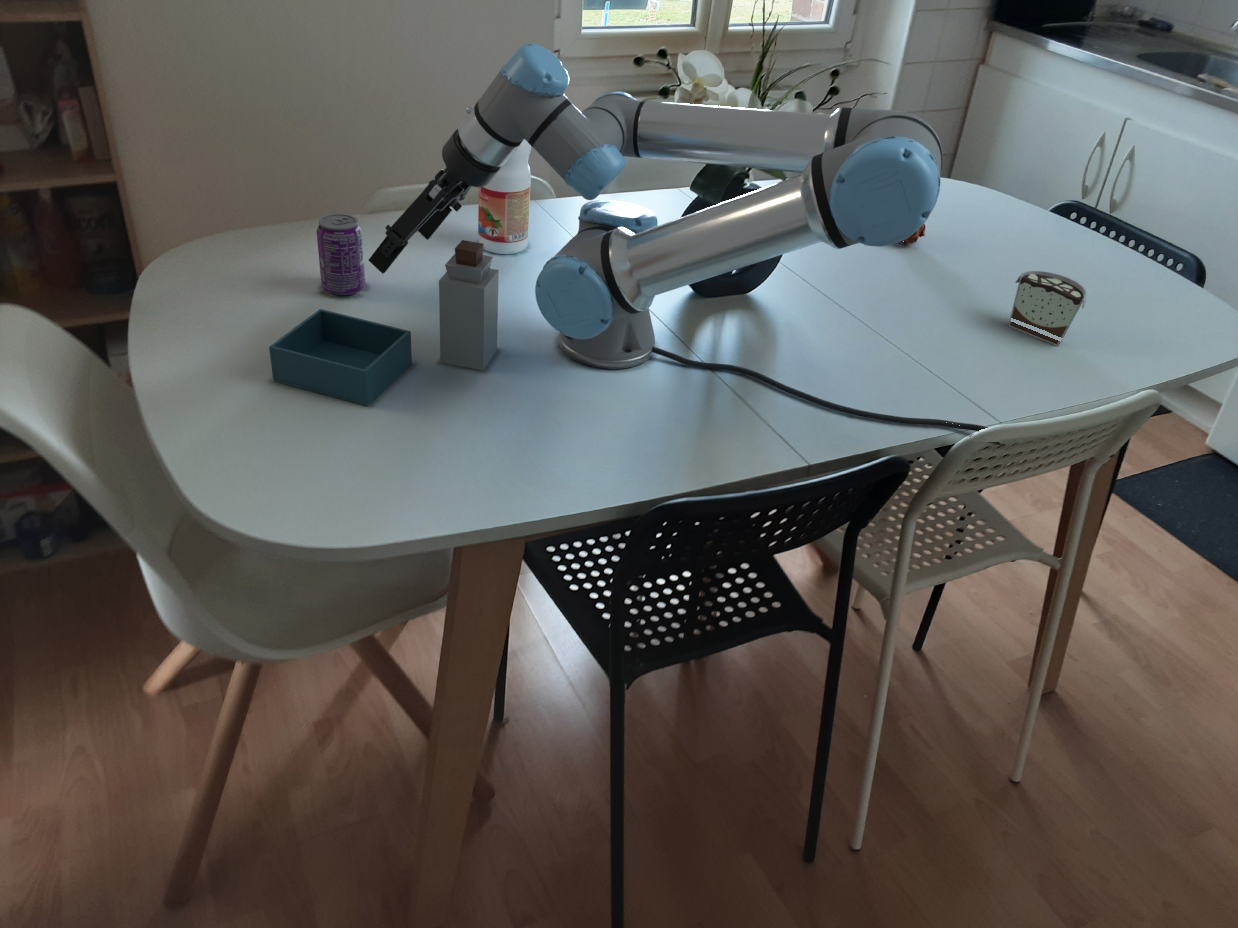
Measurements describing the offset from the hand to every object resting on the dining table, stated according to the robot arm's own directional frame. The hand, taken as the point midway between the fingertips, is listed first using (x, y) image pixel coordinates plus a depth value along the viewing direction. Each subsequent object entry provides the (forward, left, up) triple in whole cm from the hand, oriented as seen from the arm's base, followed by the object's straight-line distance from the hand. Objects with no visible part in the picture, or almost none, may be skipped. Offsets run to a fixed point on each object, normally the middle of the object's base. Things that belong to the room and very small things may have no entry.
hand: (399, 249), depth 141 cm
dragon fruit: (-70, -85, -16) cm, 111 cm away
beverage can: (+17, -11, -15) cm, 26 cm away
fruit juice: (+1, -41, -16) cm, 44 cm away
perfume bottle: (-11, 0, -15) cm, 19 cm away
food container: (-98, -55, -15) cm, 113 cm away
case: (+3, +12, -15) cm, 20 cm away
